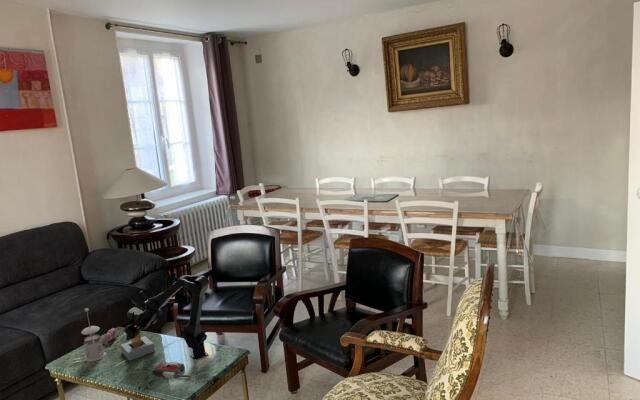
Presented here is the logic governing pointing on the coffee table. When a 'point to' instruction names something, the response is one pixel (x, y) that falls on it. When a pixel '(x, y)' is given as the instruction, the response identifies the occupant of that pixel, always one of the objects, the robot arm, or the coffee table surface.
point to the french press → (95, 348)
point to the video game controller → (109, 335)
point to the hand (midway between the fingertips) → (132, 335)
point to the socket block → (137, 348)
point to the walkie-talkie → (170, 370)
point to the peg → (136, 341)
